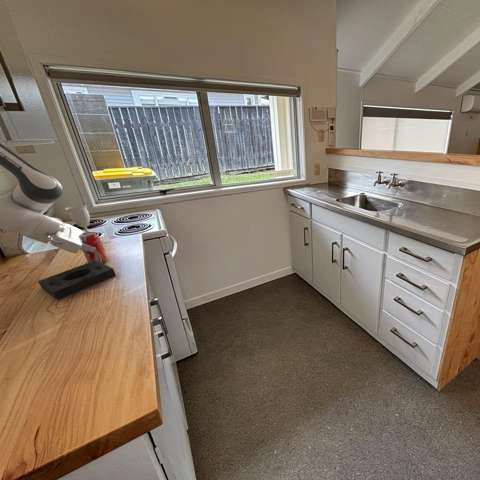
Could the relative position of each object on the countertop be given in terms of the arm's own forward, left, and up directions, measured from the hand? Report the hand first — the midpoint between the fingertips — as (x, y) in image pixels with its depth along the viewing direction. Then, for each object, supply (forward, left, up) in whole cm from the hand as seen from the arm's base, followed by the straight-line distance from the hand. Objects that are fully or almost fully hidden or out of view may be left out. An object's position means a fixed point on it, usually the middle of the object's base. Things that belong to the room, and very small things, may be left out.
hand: (94, 246), depth 100 cm
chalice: (+6, +25, -7) cm, 27 cm away
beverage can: (-1, 0, -7) cm, 7 cm away
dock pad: (-11, -12, -6) cm, 17 cm away
